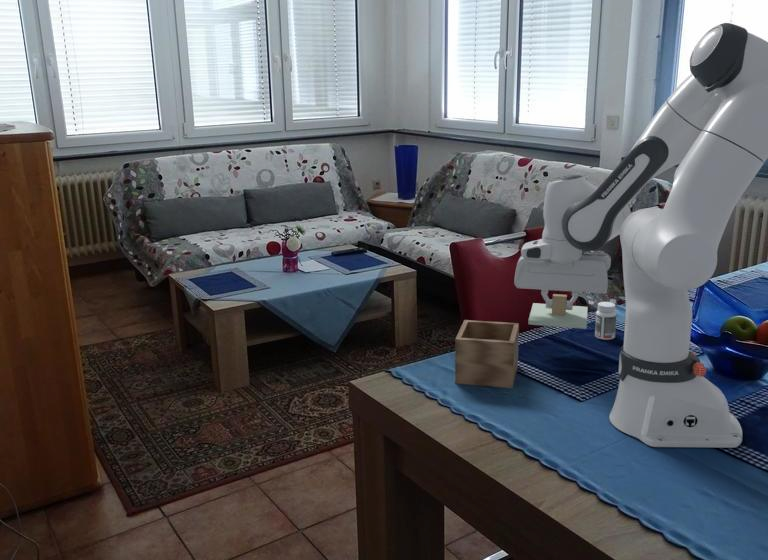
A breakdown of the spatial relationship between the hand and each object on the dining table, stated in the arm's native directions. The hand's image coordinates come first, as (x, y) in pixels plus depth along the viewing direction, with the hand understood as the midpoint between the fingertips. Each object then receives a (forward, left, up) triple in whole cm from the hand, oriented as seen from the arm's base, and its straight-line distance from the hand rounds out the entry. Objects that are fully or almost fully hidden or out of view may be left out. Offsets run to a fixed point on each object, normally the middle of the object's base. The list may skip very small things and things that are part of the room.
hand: (558, 308), depth 164 cm
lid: (0, 0, -2) cm, 2 cm away
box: (+14, +14, -11) cm, 23 cm away
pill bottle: (-11, -14, -11) cm, 21 cm away
